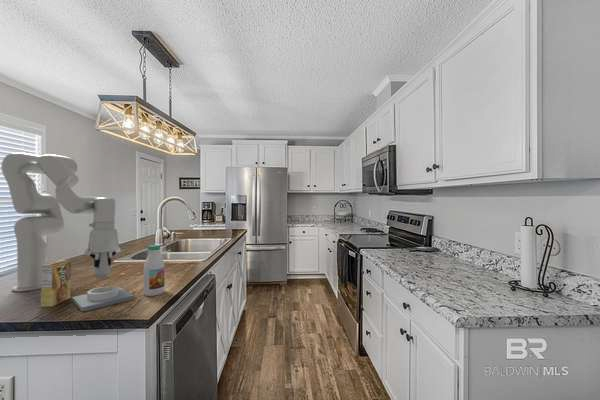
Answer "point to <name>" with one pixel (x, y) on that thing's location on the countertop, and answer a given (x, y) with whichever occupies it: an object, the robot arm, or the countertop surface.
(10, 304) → the countertop surface
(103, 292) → the collar plate
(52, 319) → the countertop surface
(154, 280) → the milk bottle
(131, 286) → the countertop surface
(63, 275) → the candy box
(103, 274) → the grey ball-topped peg
